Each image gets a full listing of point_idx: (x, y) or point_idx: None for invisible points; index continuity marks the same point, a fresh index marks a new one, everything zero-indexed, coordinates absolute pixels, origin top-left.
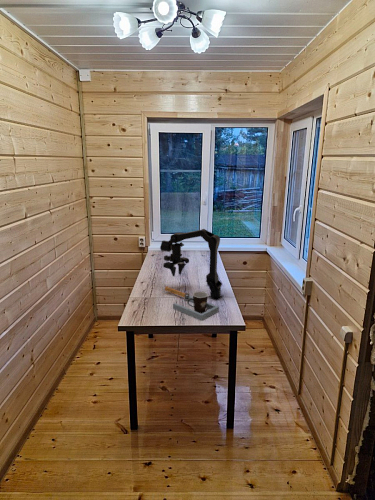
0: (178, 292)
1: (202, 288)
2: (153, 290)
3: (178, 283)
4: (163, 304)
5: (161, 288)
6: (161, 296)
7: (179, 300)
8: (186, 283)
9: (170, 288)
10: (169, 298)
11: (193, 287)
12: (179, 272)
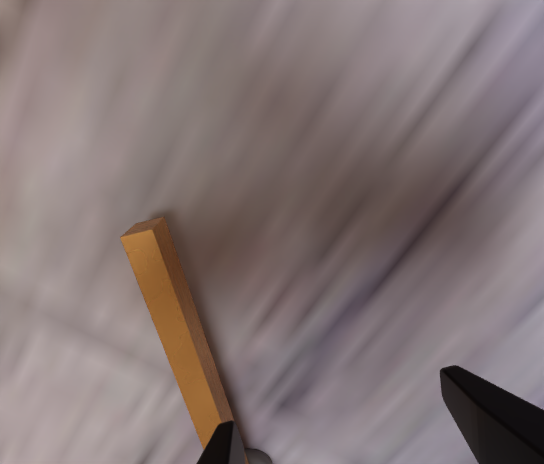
0: (204, 443)
1: (540, 334)
2: (21, 66)
3: (459, 41)
4: (9, 452)
5: (158, 66)
6: (57, 295)
7: (184, 447)
8: (534, 111)
9: (169, 322)
10: (118, 375)
11: (497, 267)
12: (471, 424)
